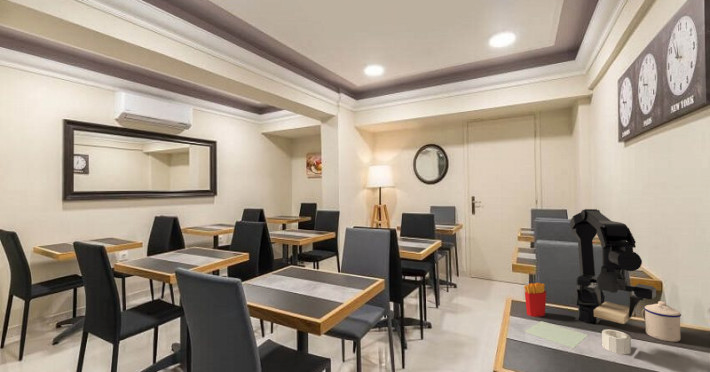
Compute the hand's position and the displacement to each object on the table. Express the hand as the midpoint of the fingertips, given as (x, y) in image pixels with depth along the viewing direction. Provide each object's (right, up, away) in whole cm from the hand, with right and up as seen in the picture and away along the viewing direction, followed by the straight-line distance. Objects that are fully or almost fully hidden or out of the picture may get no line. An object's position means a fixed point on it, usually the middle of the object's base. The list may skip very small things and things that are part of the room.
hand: (614, 313), depth 100 cm
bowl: (0, -12, 0) cm, 12 cm away
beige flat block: (0, -1, 0) cm, 1 cm away
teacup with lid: (+24, -12, +10) cm, 28 cm away
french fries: (-9, -12, +27) cm, 31 cm away
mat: (-12, -12, +10) cm, 20 cm away
